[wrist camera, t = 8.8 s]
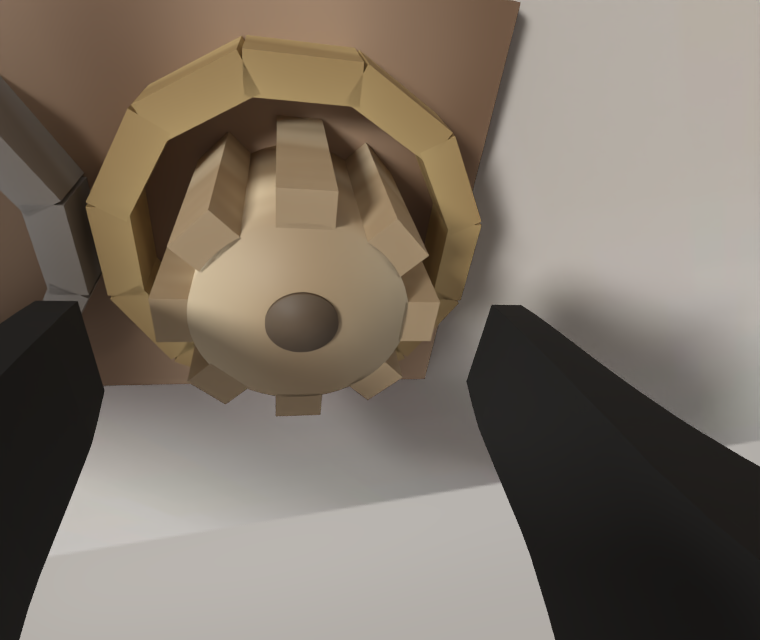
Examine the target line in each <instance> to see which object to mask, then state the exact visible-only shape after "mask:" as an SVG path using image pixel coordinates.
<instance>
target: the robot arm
mask: <svg viewBox="0 0 760 640" xmlns="http://www.w3.org/2000/svg"><path fill="white" fill-rule="evenodd" d="M467 385H468V389H469V393H470V397H471V401H472V406H473V409H474V413H475V416H476V420H477V424H478V427H479V430H480V432H481V435H482V437H483V440H484V442H485V445H486V447H487V450H488V452H489V455H490V457H491V459H492V462H493V464H494V467H495V469H496V472H497V474H498V476H499V479H500V481H501V483H502V486H503V488H504V491H505V493H506V495H507V498H508V500H509V503H510V505H511V507H512V510H513V512H514V515H515V517H516V519H517V522H518V524H519V527H520V529H521V531H522V534H523V537H524V540H525V542H526V545H527V548H528V550H529V553H530V556H531V559H532V562H533V566H534V569H535V572H536V575H537V579H538V582H539V585H540V589H541V592H542V595H543V598H544V601H545V605H546V608H547V612H548V615H549V619H550V623H551V626H552V630H553V633H554V637H555V640H760V466H758V465H756V464H754V463H752V462H751V461H749V460H747V459H745V458H744V457H741V456H740V455H738V454H737V453H735V452H733V451H732V450H730V449H728V448H727V447H725V446H723V445H722V444H720V443H718V442H717V441H715V440H713V439H712V438H710V437H708V436H707V435H705V434H703V433H701V432H700V431H698V430H697V429H695V428H693V427H692V426H690V425H689V424H687V423H686V422H684V421H682V420H681V419H679V418H678V417H676V416H675V415H673V414H672V413H670V412H669V411H667V410H666V409H664V408H663V407H661V406H660V405H658V404H657V403H655V402H654V401H652V400H651V399H650V398H648V397H647V396H645V395H644V394H642V393H641V392H639V391H638V390H636V389H635V388H634V387H632V386H631V385H629V384H628V383H627V382H625V381H624V380H622V379H621V378H620V377H618V376H617V375H616V374H614V373H613V372H611V371H610V370H609V369H607V368H606V367H605V366H603V365H602V364H601V363H599V362H598V361H597V360H595V359H594V358H593V357H591V356H590V355H589V354H587V353H586V352H585V351H583V350H582V349H581V348H579V347H578V346H577V345H575V344H574V343H573V342H571V341H570V340H569V339H568V338H566V337H565V336H564V335H562V334H561V333H560V332H558V331H557V330H556V329H554V328H553V327H552V326H550V325H549V324H548V323H546V322H545V321H544V320H542V319H541V318H539V317H538V316H537V315H535V314H534V313H532V312H531V311H529V310H528V309H526V308H525V307H523V306H521V305H492V306H491V309H490V312H489V315H488V318H487V321H486V324H485V327H484V330H483V333H482V336H481V339H480V342H479V345H478V348H477V351H476V354H475V357H474V360H473V363H472V366H471V369H470V372H469V375H468V379H467ZM103 395H104V387H103V384H102V380H101V377H100V374H99V370H98V367H97V364H96V360H95V357H94V354H93V350H92V347H91V344H90V340H89V337H88V334H87V330H86V327H85V324H84V320H83V317H82V314H81V310H80V307H79V304H78V301H34V302H32V303H31V304H29V305H28V306H26V307H24V308H23V309H21V310H20V311H18V312H17V313H15V314H14V315H12V316H11V317H9V318H8V319H6V320H5V321H3V322H2V323H0V640H19V639H20V635H21V632H22V628H23V625H24V621H25V618H26V614H27V611H28V607H29V605H30V602H31V599H32V596H33V593H34V590H35V588H36V585H37V582H38V579H39V576H40V574H41V571H42V569H43V566H44V564H45V561H46V559H47V556H48V554H49V551H50V549H51V546H52V544H53V541H54V539H55V536H56V534H57V531H58V529H59V526H60V524H61V521H62V519H63V516H64V514H65V511H66V509H67V506H68V504H69V501H70V499H71V496H72V494H73V491H74V489H75V486H76V484H77V481H78V478H79V476H80V473H81V471H82V468H83V466H84V463H85V460H86V458H87V455H88V453H89V450H90V447H91V445H92V441H93V437H94V433H95V429H96V425H97V421H98V417H99V413H100V408H101V404H102V399H103Z"/></svg>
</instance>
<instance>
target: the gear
mask: <svg viewBox="0 0 760 640" xmlns="http://www.w3.org/2000/svg"><path fill="white" fill-rule="evenodd" d="M428 256H429V255H428V252H427V250H426V248H425V246H424V244H423V242H422V239H421V237H420V235H419V233H418V231H417V229H416V226H415V224H414V222H413V220H412V218H411V216H410V214H409V211H408V209H407V207H406V205H405V203H404V201H403V198H402V196H401V194H400V192H399V190H398V188H397V185H396V183H395V181H394V179H393V177H392V175H391V173H390V172H389V170H388V169H387V168H386V167H385V165H384V164H383V163H382V162H381V160H380V159H379V158H378V157H377V155H376V154H375V153H374V152H373V150H372V149H371V148H370V147H369V145H368V144H367V143H365V144H363V145H362V146H361V147H360V148H359V149H357V150H356V151H355V152H354V153H353V154H352V155H350V156H349V157H348V158H347V159H346V160H343V159H342V158H340V157H338V156H336V155H335V154H333V153H331V152H329V147H328V143H327V138H326V134H325V130H324V125H323V121H322V119H315V118H303V117H292V116H281V115H277V142H276V145H275V146H271V147H267V148H263V149H261V150H258V151H256V152H253V153H252V154H251V153H250V152H249V151H248V150H247V149H246V148H245V147H244V146H243V145H242V144H241V143H240V142H239V141H238V140H237V139H236V138H235V137H234V136H233V135H232V134H231V133H230V132H229V131H228V132H227V133H226V134H225V135H224V136H223V137H222V138H221V139H220V140H219V141H218V142H217V143H216V144H215V145H214V146H213V147H212V148H211V149H210V150H209V151H208V152H206V153H205V154H204V155H203V156H202V157H201V158H200V159H199V160H198V162H197V165H196V168H195V171H194V173H193V176H192V179H191V182H190V184H189V187H188V190H187V193H186V195H185V198H184V201H183V203H182V206H181V209H180V212H179V214H178V217H177V220H176V223H175V225H174V228H173V231H172V234H171V236H170V239H169V242H168V245H167V249H166V251H165V254H164V257H163V260H162V262H161V265H160V268H159V271H158V273H157V276H156V279H155V282H154V284H153V287H152V290H151V293H150V295H149V298H148V301H149V306H150V311H151V316H152V321H153V327H154V332H155V337H156V342H194V344H195V347H194V351H193V356H192V361H191V366H190V370H189V375H188V380H187V382H189V383H190V384H192V385H194V386H195V387H197V388H199V389H200V390H202V391H204V392H205V393H207V394H209V395H210V396H212V397H214V398H216V399H217V400H219V401H221V402H222V403H224V404H227V403H228V402H230V401H231V400H232V399H234V398H235V397H236V396H238V395H239V394H241V393H242V392H243V391H245V390H246V389H250V390H253V391H256V392H260V393H264V394H269V395H273V396H276V416H298V415H320V413H321V400H322V394H327V393H331V392H334V391H338V390H340V389H343V388H346V387H348V386H350V387H351V388H352V389H354V390H355V391H356V392H358V393H359V394H360V395H362V396H363V397H364V398H366V399H367V400H369V399H370V398H372V397H373V396H375V395H376V394H378V393H380V392H381V391H383V390H384V389H386V388H387V387H389V386H390V385H392V384H393V383H395V382H396V381H398V380H399V379H401V378H402V373H401V369H400V366H399V362H398V359H397V355H396V351H395V349H396V347H397V346H398V344H399V342H400V341H431V337H432V333H433V329H434V325H435V321H436V317H437V313H438V309H439V305H440V301H439V299H438V297H437V294H436V292H435V290H434V287H433V285H432V283H431V280H430V278H429V276H428V274H427V271H426V269H425V267H424V264H423V262H422V261H423V260H424V259H425V258H427V257H428Z"/></svg>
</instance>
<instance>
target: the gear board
mask: <svg viewBox="0 0 760 640" xmlns="http://www.w3.org/2000/svg"><path fill="white" fill-rule="evenodd" d="M519 7H520V2H517V1H513V0H0V323H2V322H3V321H5V320H6V319H8V318H9V317H11V316H12V315H14V314H15V313H17V312H18V311H20V310H21V309H23V308H24V307H26V306H28V305H29V304H31V303H32V302H34V301H78V304H79V307H80V310H81V314H82V317H83V320H84V324H85V327H86V330H87V334H88V337H89V340H90V344H91V347H92V350H93V354H94V357H95V360H96V364H97V367H98V370H99V374H100V377H101V380H102V384H103V386H106V385H153V384H190V383H189V382H187V380H188V375H189V370H190V366H191V361H192V356H193V351H194V347H195V344H194V342H156V337H155V332H154V327H153V321H152V316H151V311H150V306H149V301H148V298H149V295H150V293H151V290H152V287H153V284H154V282H155V279H156V276H157V273H158V271H159V268H160V265H161V262H162V260H163V257H164V254H165V251H166V249H167V245H168V242H169V239H170V236H171V234H172V231H173V228H174V225H175V223H176V220H177V217H178V214H179V212H180V209H181V206H182V203H183V201H184V198H185V195H186V193H187V190H188V187H189V184H190V182H191V179H192V176H193V173H194V171H195V168H196V165H197V162H198V160H199V159H200V158H201V157H202V156H203V155H204V154H205V153H206V152H208V151H209V150H210V149H211V148H212V147H213V146H214V145H215V144H216V143H217V142H218V141H219V140H220V139H221V138H222V137H223V136H224V135H225V134H226V133H227V132H228V131H229V132H230V133H231V134H232V135H233V136H234V137H235V138H236V139H237V140H238V141H239V142H240V143H241V144H242V145H243V146H244V147H245V148H246V149H247V150H248V151H249V152H250V153H251V154H252V153H253V152H256V151H258V150H261V149H263V148H267V147H271V146H275V145H276V142H277V115H281V116H292V117H303V118H315V119H322V121H323V125H324V130H325V134H326V138H327V143H328V147H329V152H331V153H333V154H335V155H336V156H338V157H340V158H342V159H343V160H346V159H347V158H348V157H349V156H350V155H352V154H353V153H354V152H355V151H356V150H357V149H359V148H360V147H361V146H362V145H363V144H365V143H367V144H368V145H369V147H370V148H371V149H372V150H373V152H374V153H375V154H376V155H377V157H378V158H379V159H380V160H381V162H382V163H383V164H384V165H385V167H386V168H387V169H388V170H389V172H390V173H391V175H392V177H393V179H394V181H395V183H396V185H397V188H398V190H399V192H400V194H401V196H402V198H403V201H404V203H405V205H406V207H407V209H408V211H409V214H410V216H411V218H412V220H413V222H414V224H415V226H416V229H417V231H418V233H419V235H420V237H421V239H422V242H423V244H424V246H425V248H426V250H427V252H428V255H429V256H428V257H427V258H425V259H424V260H423V261H422V262H423V264H424V267H425V269H426V271H427V274H428V276H429V278H430V280H431V283H432V285H433V287H434V290H435V292H436V294H437V297H438V299H439V301H440V305H439V309H438V313H437V317H436V321H435V325H434V329H433V333H432V337H431V341H400V342H399V344H398V346H397V347H396V349H395V351H396V355H397V359H398V362H399V366H400V369H401V373H402V378H401V379H425V375H426V371H427V367H428V363H429V360H430V356H431V352H432V348H433V344H434V340H435V336H436V332H437V328H438V324H439V323H440V322H441V321H442V320H443V319H444V318H445V317H446V316H447V315H448V314H449V313H450V312H451V311H452V310H453V309H454V308H455V307H456V306H457V304H458V301H457V300H461V297H462V293H463V290H464V286H465V282H466V279H467V275H468V272H469V268H470V264H471V261H472V257H473V254H474V250H475V247H476V243H477V239H478V236H479V232H480V229H481V224H480V223H479V222H481V219H480V215H479V212H478V209H477V206H476V202H475V199H474V196H473V192H472V191H473V187H474V183H475V179H476V175H477V171H478V168H479V164H480V160H481V156H482V152H483V148H484V144H485V140H486V136H487V132H488V128H489V124H490V121H491V117H492V113H493V109H494V105H495V101H496V97H497V93H498V89H499V85H500V81H501V77H502V74H503V70H504V66H505V62H506V58H507V54H508V50H509V46H510V42H511V38H512V34H513V30H514V27H515V23H516V19H517V15H518V11H519Z"/></svg>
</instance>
